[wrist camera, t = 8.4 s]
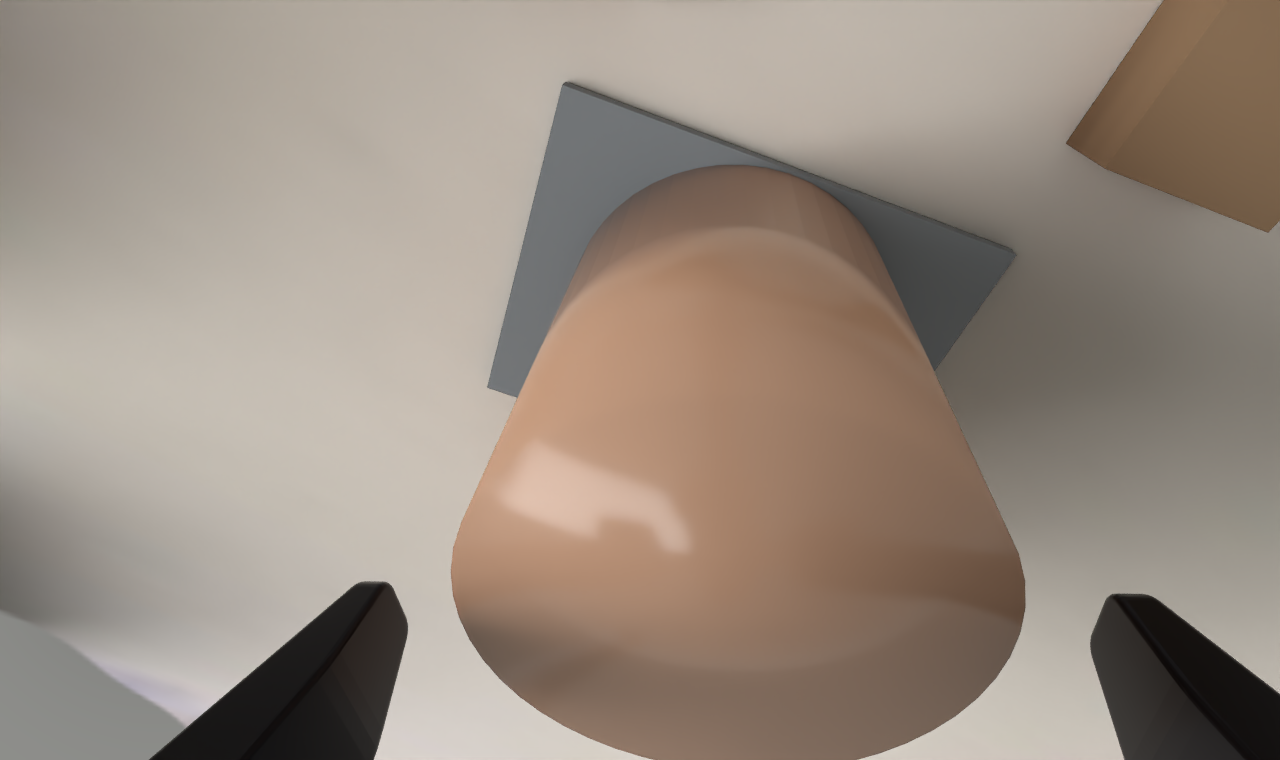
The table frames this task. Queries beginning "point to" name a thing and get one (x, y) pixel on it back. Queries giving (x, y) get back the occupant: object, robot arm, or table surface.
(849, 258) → the peach rounded canister
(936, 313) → the mat
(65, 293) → the table surface
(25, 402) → the table surface
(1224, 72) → the brown u-shaped piece
